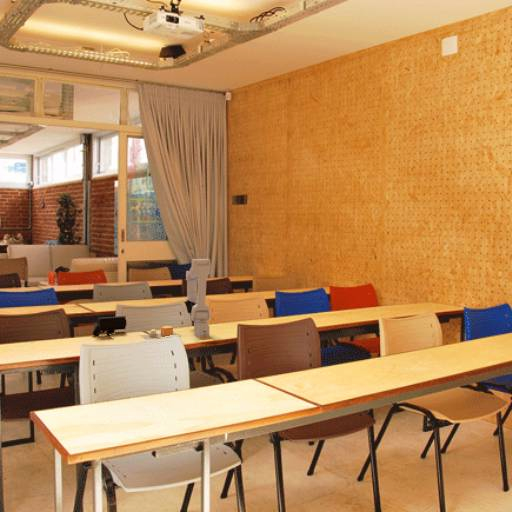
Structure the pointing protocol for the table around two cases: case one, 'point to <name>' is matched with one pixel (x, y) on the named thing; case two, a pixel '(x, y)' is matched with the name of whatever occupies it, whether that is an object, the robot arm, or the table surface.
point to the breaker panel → (154, 336)
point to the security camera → (109, 325)
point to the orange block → (166, 330)
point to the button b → (153, 331)
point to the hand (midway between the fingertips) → (192, 313)
